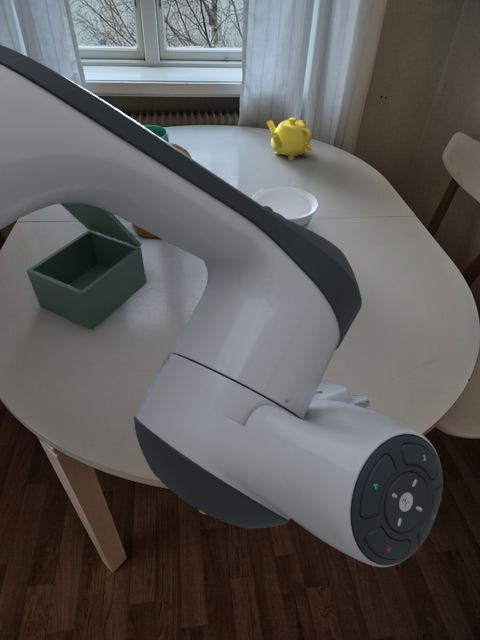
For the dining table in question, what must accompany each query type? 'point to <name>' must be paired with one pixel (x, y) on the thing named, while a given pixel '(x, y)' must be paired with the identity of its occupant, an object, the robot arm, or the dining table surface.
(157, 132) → the mug
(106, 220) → the chest lid
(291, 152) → the teapot
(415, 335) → the dining table surface
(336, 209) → the dining table surface
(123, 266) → the chest
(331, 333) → the robot arm
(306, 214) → the bowl
